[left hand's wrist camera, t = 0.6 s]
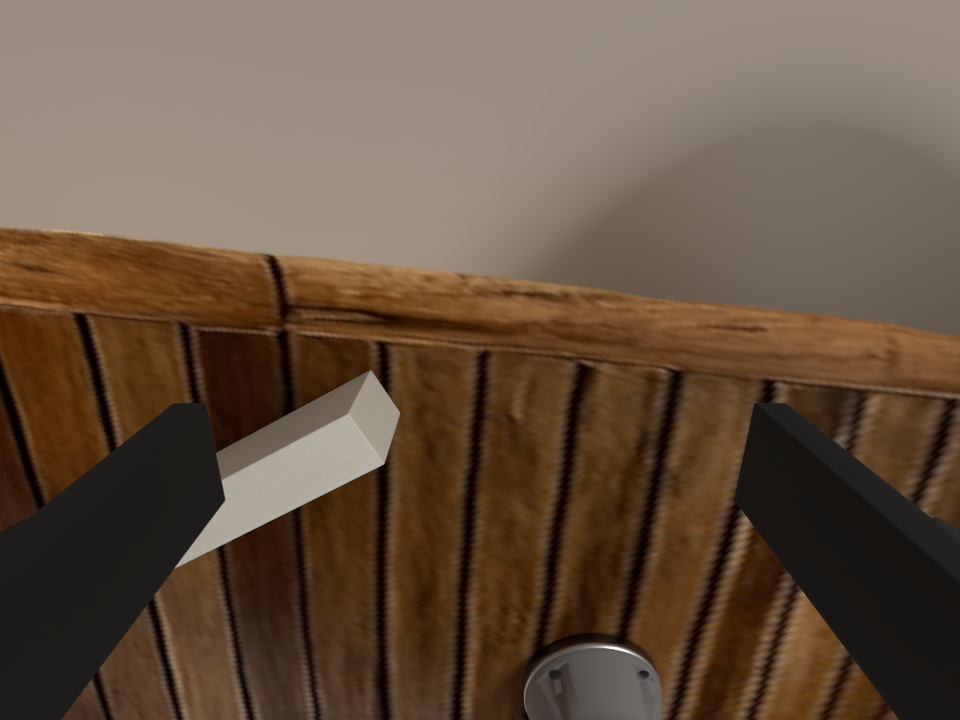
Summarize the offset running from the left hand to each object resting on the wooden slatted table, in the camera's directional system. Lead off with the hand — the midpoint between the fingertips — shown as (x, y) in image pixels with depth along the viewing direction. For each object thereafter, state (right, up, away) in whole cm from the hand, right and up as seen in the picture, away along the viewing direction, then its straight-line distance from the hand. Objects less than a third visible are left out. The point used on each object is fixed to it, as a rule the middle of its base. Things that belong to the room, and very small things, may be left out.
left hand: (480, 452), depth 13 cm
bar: (-19, -6, +36) cm, 41 cm away
